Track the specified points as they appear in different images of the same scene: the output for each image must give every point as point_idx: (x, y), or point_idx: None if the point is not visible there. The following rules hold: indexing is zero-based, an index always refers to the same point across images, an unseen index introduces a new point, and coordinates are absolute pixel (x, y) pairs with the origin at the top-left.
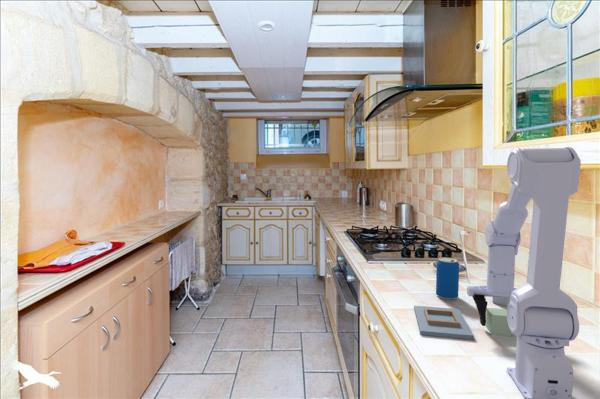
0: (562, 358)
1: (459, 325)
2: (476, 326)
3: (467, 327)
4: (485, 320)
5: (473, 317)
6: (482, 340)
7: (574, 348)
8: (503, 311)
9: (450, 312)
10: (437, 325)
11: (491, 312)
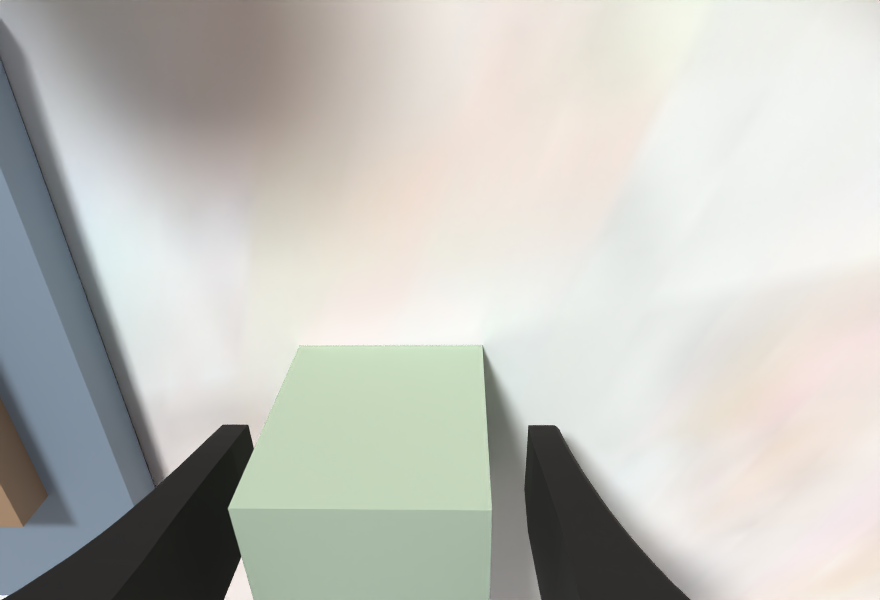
0: None
1: (35, 506)
2: (210, 362)
3: (112, 497)
4: (239, 550)
5: (182, 128)
6: (243, 564)
7: (875, 563)
8: (432, 577)
9: None
10: None
11: None
